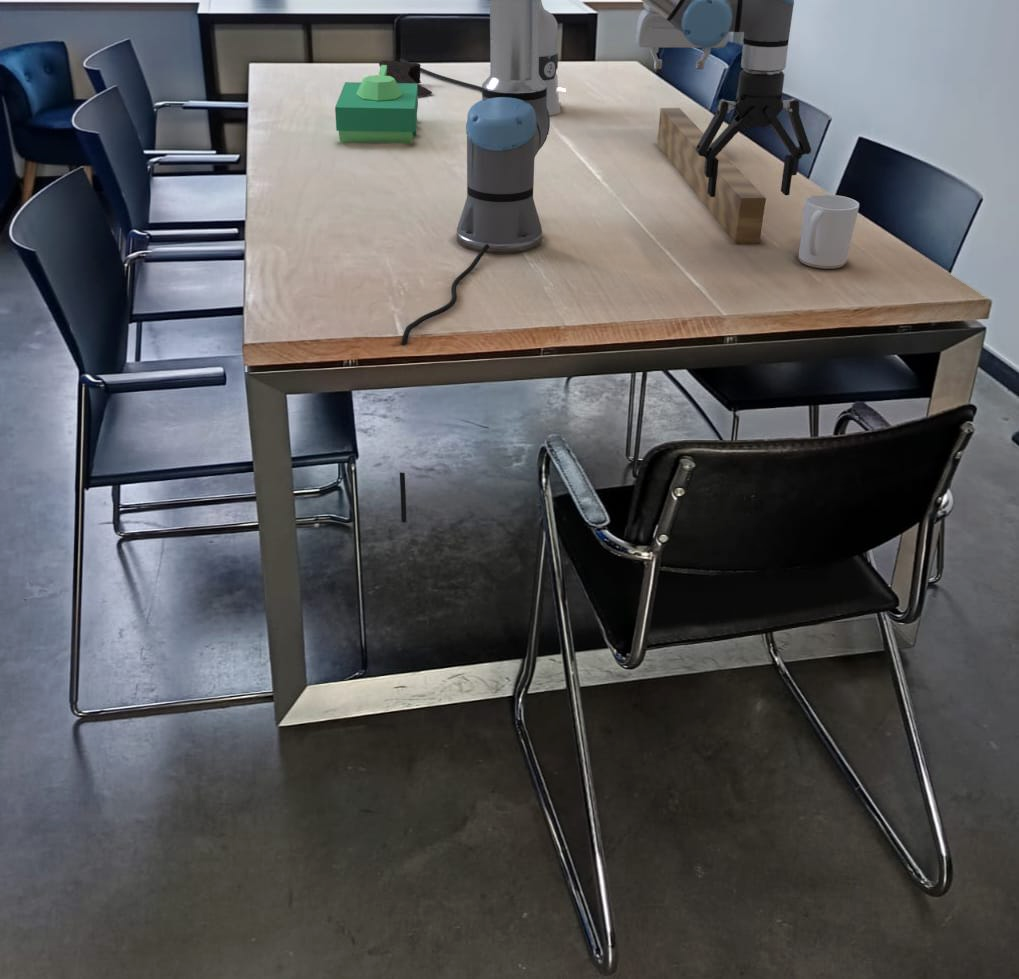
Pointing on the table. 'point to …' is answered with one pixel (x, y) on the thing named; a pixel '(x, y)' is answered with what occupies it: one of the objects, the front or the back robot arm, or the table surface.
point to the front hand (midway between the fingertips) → (748, 194)
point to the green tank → (377, 110)
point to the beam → (734, 194)
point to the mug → (827, 230)
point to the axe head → (405, 74)
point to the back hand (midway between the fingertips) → (678, 68)
